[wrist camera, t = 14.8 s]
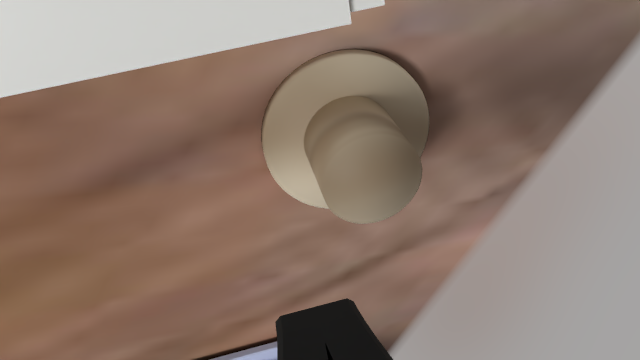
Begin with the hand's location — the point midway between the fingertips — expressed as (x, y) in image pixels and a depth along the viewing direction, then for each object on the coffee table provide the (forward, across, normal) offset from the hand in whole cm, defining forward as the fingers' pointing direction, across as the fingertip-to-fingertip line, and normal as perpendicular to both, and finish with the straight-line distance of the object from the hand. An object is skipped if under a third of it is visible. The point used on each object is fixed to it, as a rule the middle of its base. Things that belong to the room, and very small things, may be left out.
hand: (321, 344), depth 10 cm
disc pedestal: (+10, -3, +2) cm, 11 cm away
